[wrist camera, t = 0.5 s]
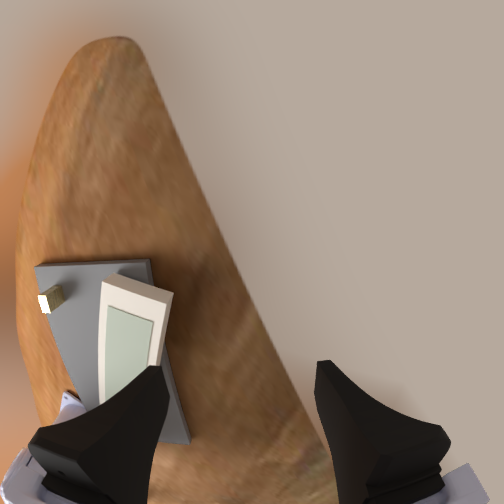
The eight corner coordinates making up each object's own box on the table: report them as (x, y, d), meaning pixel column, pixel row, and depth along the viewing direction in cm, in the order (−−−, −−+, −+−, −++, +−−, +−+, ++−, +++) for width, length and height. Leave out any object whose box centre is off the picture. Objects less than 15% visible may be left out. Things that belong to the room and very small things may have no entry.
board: (191, 438, 26) (186, 461, 23) (100, 425, 26) (90, 444, 23) (149, 258, 21) (132, 273, 17) (40, 263, 21) (17, 275, 17)
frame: (150, 434, 24) (145, 448, 22) (108, 418, 24) (101, 431, 22) (173, 292, 20) (165, 305, 18) (113, 272, 20) (100, 282, 17)
